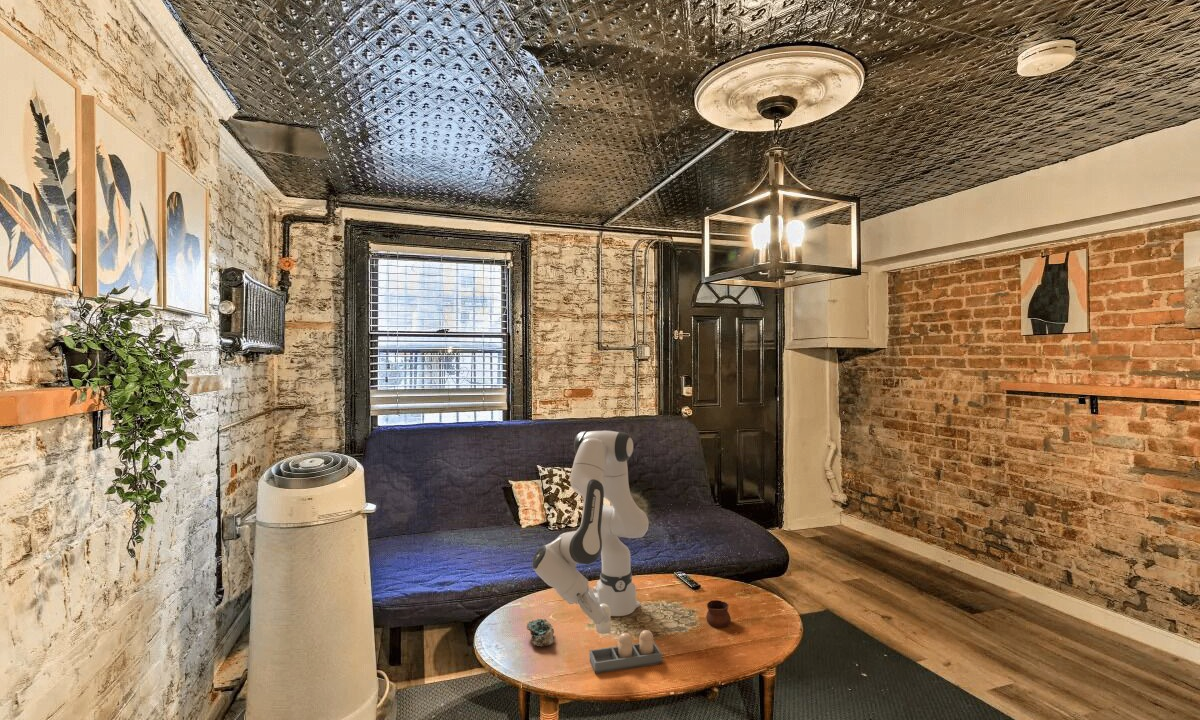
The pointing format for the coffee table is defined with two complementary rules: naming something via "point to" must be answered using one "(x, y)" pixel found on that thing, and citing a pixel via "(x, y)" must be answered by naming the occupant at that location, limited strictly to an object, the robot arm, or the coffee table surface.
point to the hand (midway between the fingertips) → (605, 615)
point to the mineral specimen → (541, 632)
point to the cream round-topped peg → (603, 626)
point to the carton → (626, 654)
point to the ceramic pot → (718, 614)
